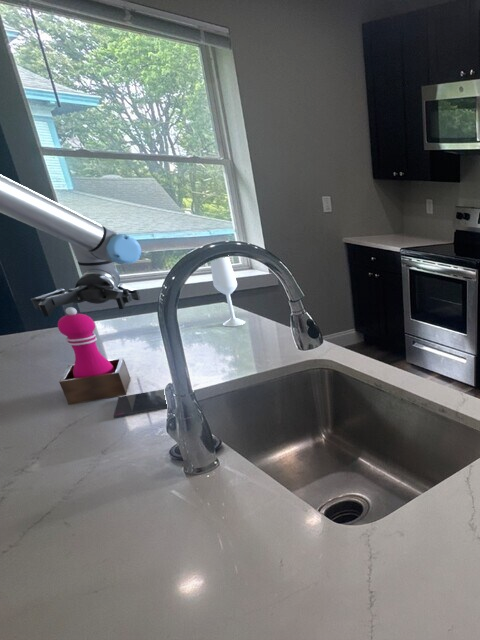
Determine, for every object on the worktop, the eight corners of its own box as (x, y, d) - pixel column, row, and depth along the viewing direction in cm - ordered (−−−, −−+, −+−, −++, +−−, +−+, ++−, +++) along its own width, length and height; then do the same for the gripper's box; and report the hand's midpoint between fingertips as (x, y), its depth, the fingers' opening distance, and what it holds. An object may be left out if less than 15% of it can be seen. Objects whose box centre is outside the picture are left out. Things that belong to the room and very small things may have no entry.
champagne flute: (230, 327, 151) (212, 252, 141) (218, 323, 154) (200, 249, 144) (250, 322, 157) (234, 249, 146) (238, 319, 160) (222, 246, 149)
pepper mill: (118, 381, 113) (89, 301, 105) (123, 391, 109) (93, 308, 100) (79, 389, 109) (45, 306, 100) (82, 400, 104) (48, 314, 96)
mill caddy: (68, 404, 102) (58, 381, 100) (76, 386, 110) (68, 365, 108) (126, 394, 107) (118, 373, 105) (130, 378, 115) (123, 357, 113)
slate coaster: (114, 418, 98) (113, 415, 98) (119, 399, 105) (118, 396, 105) (171, 407, 103) (170, 405, 102) (172, 390, 110) (172, 387, 110)
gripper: (156, 295, 133) (152, 315, 117) (40, 306, 121) (17, 330, 105) (148, 269, 130) (143, 286, 114) (27, 277, 118) (2, 297, 102)
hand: (83, 307), depth 110 cm, fingers open, 13 cm apart
